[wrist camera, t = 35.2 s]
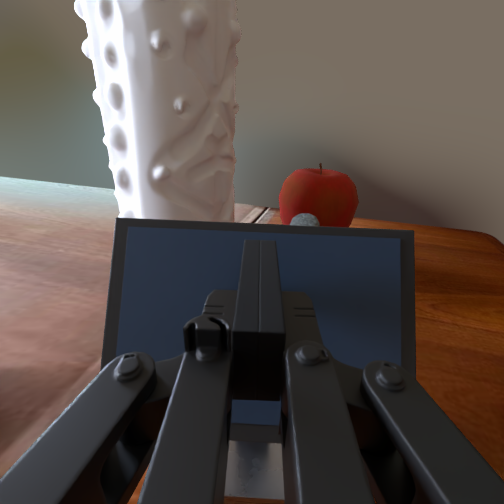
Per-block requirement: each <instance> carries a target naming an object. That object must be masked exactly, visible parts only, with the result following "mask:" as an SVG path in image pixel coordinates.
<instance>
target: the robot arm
mask: <svg viewBox="0 0 504 504" xmlns="http://www.w3.org/2000/svg"><path fill="white" fill-rule="evenodd" d="M183 336H184V347H185V352H184V353H183V354H181V355H179V356H177V357H174V358H171V359H167V360H162V361H157V362H155V361H154V359H153V358H152V357H151V355H149V354H146V353H144V352H130V353H125V354H123V355H120V356H118V357H116V358H115V359H113V360H112V361H111V362H110V363H108V364H107V365H106V366H105V367H104V368H103V370H102V371H101V372H100V373H99V374H98V375H97V376H96V377H95V378H94V379H93V380H92V381H91V382H90V383H89V384H88V386H87V387H86V388H85V389H84V390H83V391H82V392H81V393H80V394H79V395H78V396H77V397H76V398H75V399H74V401H73V402H72V403H71V404H70V405H69V406H68V407H67V408H66V409H65V410H64V411H63V412H62V413H61V414H60V415H59V417H58V418H57V419H56V420H55V421H54V422H53V423H52V424H51V425H50V426H49V427H48V428H47V429H46V430H45V432H44V433H43V434H42V435H41V436H40V437H39V438H38V439H37V440H36V441H35V442H34V443H33V444H32V445H31V447H30V448H29V449H28V450H27V451H26V452H25V453H24V454H23V455H22V456H21V457H20V458H19V459H18V460H17V461H16V463H15V464H14V465H13V466H12V467H11V468H10V469H9V470H8V471H7V472H6V473H5V474H4V475H3V476H2V478H1V479H0V504H127V503H128V501H129V499H130V498H131V496H132V494H133V492H134V490H135V489H136V487H137V485H138V483H139V481H140V479H141V478H142V476H143V474H144V472H145V470H146V469H147V467H148V465H149V467H148V470H147V474H146V477H145V480H144V483H143V486H142V490H141V493H140V496H139V499H138V502H137V504H224V493H225V482H226V472H227V461H228V451H229V440H230V429H231V419H232V399H234V400H258V401H280V396H281V412H280V422H279V432H278V435H281V446H282V464H283V481H284V499H285V504H375V501H374V498H375V500H376V502H377V504H504V481H503V480H502V479H501V478H500V476H499V475H498V474H497V473H496V472H495V471H494V469H493V468H492V467H491V466H490V465H489V464H488V463H487V461H486V460H485V459H484V458H483V457H482V456H481V454H480V453H479V452H478V451H477V450H476V449H475V447H474V446H473V445H472V444H471V443H470V442H469V441H468V439H467V438H466V437H465V436H464V435H463V434H462V432H461V431H460V430H459V429H458V428H457V427H456V426H455V424H454V423H453V422H452V421H451V420H450V419H449V417H448V416H447V415H446V414H445V413H444V412H443V410H442V409H441V408H440V407H439V406H438V405H437V404H436V402H435V401H434V400H433V399H432V398H431V397H430V395H429V394H428V393H427V392H426V391H425V390H424V388H423V387H422V386H421V385H420V384H419V383H418V382H417V380H416V379H415V378H414V377H413V376H412V375H411V374H410V373H409V372H408V371H407V370H405V369H404V368H403V367H401V366H399V365H397V364H395V363H392V362H388V361H385V360H375V361H372V362H370V363H368V364H367V365H366V366H365V368H364V370H363V369H359V368H356V367H353V366H349V365H346V364H344V363H341V362H339V361H338V360H336V359H334V358H333V356H332V354H331V353H330V351H329V350H328V349H327V348H326V347H325V346H324V345H323V341H322V337H321V333H320V330H319V326H318V322H317V318H316V315H315V311H314V307H313V303H312V300H311V299H310V297H309V296H308V295H307V294H306V293H305V292H294V291H281V282H280V273H279V264H278V255H277V246H276V241H272V240H244V247H243V254H242V261H241V269H240V276H239V284H238V290H216V289H214V290H213V291H212V292H211V293H210V294H209V295H208V296H207V298H206V301H205V305H204V308H203V311H202V315H200V316H197V317H194V318H192V319H191V320H190V321H188V322H187V323H186V324H185V326H184V327H183ZM149 463H150V464H149ZM373 496H374V498H373Z"/></svg>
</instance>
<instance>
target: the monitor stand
mask: <svg viewBox="0 0 504 504" xmlns="http://www.w3.org/2000/svg"><path fill="white" fill-rule="evenodd" d="M224 504H285V499H284V481H283V464H282V446H281V444H279V443H263V442H246V441H229V451H228V461H227V472H226V482H225V493H224Z"/></svg>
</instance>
